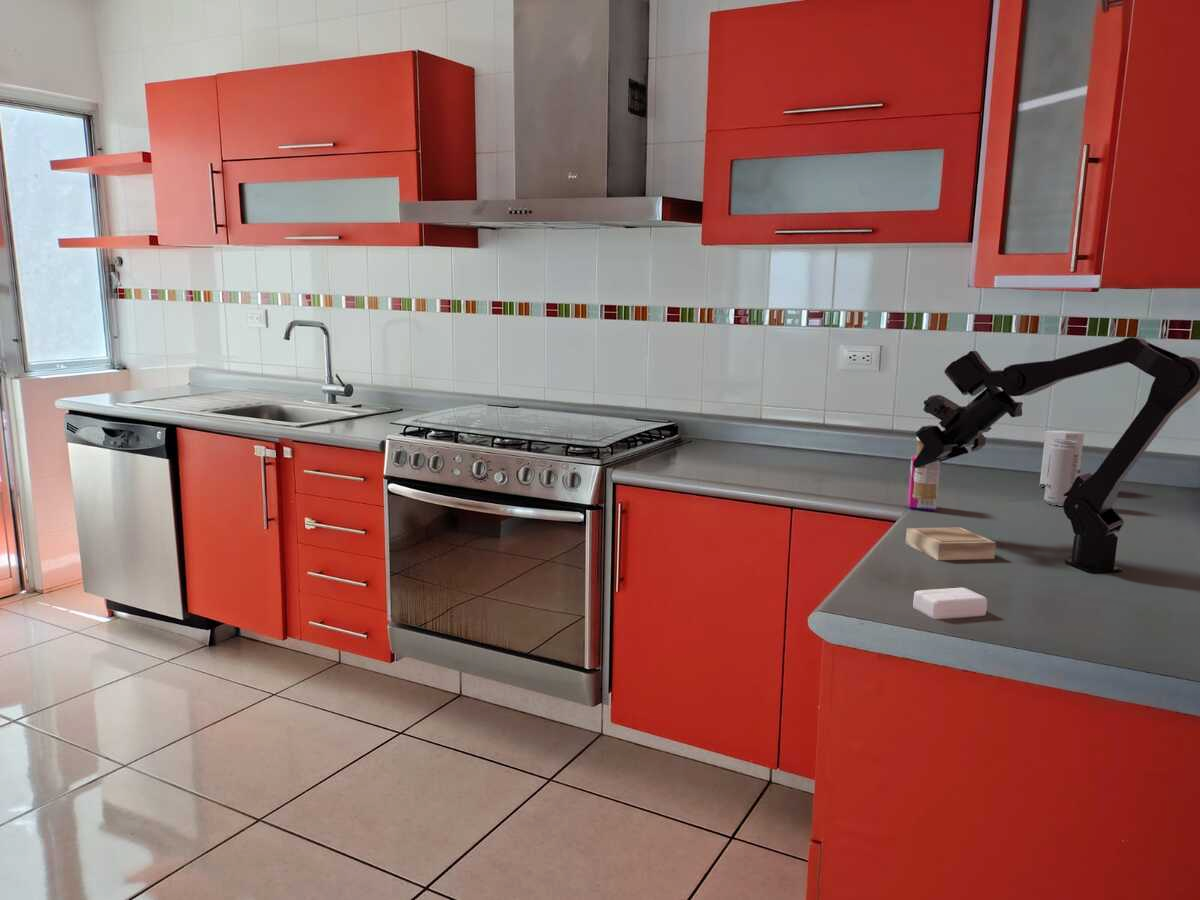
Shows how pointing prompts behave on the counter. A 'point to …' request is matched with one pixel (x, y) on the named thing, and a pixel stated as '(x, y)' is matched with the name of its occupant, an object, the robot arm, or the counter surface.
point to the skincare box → (1049, 440)
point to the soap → (949, 603)
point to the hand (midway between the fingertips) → (920, 464)
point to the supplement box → (915, 503)
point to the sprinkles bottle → (925, 478)
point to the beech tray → (950, 543)
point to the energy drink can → (1061, 470)
